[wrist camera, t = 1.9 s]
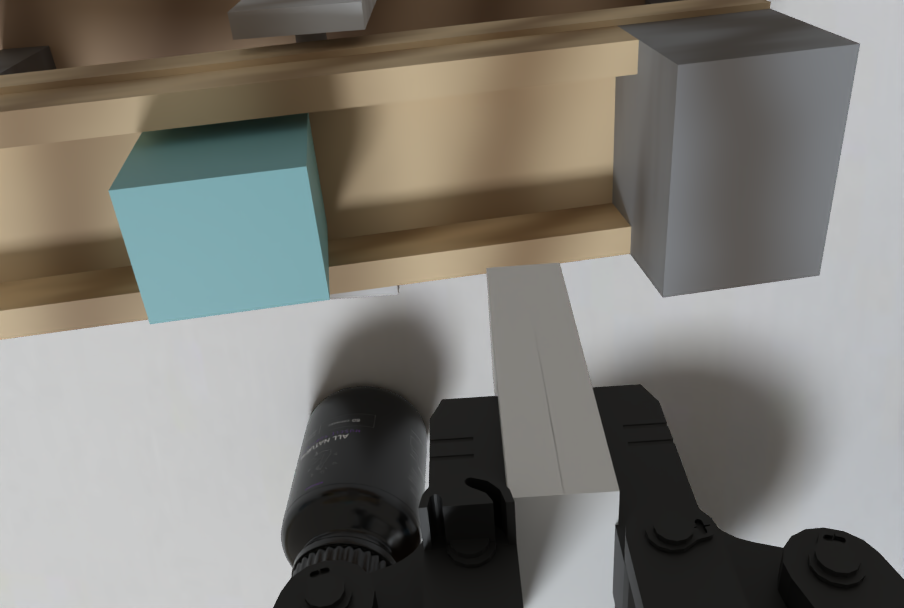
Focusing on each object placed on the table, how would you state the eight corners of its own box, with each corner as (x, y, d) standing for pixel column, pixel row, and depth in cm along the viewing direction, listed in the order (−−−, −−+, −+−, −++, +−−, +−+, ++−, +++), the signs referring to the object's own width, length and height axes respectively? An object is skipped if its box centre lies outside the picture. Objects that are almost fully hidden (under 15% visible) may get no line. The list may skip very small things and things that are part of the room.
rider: (307, 109, 25) (306, 166, 21) (327, 226, 27) (329, 299, 23) (143, 128, 25) (108, 190, 21) (175, 245, 27) (150, 324, 23)
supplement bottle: (328, 365, 44) (291, 532, 34) (445, 403, 45) (444, 575, 35) (291, 455, 47) (247, 633, 37) (401, 488, 49) (389, 668, 38)
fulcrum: (706, -104, 33) (813, -72, 23) (685, 178, 39) (762, 294, 29) (-29, -43, 34) (-215, 12, 24) (64, 222, 40) (-56, 348, 30)
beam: (747, -7, 27) (861, 36, 22) (726, 198, 31) (818, 281, 25) (-170, 94, 25) (-314, 172, 19) (-72, 304, 28) (-168, 421, 23)
